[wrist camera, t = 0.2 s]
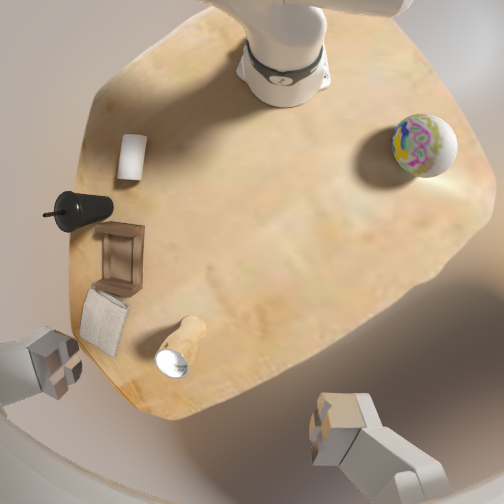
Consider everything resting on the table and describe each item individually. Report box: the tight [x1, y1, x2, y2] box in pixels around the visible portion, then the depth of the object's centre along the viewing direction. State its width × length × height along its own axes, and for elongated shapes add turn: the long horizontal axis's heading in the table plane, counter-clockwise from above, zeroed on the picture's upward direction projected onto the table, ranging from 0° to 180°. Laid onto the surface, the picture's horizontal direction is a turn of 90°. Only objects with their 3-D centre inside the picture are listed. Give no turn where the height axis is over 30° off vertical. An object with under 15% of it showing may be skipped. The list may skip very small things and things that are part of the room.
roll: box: [117, 134, 147, 180], centre depth 51 cm, size 9×5×5 cm, turn 172°
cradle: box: [95, 221, 145, 297], centre depth 55 cm, size 14×9×6 cm, turn 172°
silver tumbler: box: [155, 316, 207, 379], centre depth 52 cm, size 7×7×15 cm
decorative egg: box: [392, 114, 458, 178], centre depth 41 cm, size 12×12×15 cm
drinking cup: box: [43, 191, 114, 233], centre depth 46 cm, size 8×8×20 cm
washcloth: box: [79, 283, 130, 358], centre depth 61 cm, size 12×18×3 cm, turn 155°
